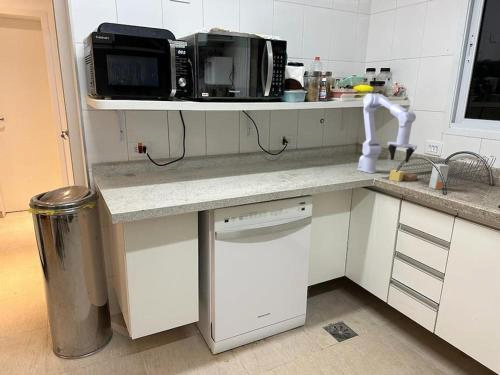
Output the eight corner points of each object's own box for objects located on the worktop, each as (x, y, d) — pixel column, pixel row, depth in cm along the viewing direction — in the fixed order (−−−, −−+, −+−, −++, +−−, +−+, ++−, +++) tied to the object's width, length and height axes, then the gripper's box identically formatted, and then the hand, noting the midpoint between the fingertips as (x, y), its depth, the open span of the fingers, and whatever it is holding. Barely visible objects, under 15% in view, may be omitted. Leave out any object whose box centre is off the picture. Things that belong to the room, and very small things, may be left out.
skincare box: (434, 189, 171) (439, 165, 167) (428, 187, 174) (433, 163, 171) (444, 189, 172) (450, 165, 169) (438, 186, 176) (443, 163, 173)
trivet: (393, 177, 190) (394, 173, 190) (400, 175, 197) (401, 171, 196) (410, 181, 184) (411, 176, 184) (416, 179, 190) (417, 174, 190)
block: (389, 179, 186) (390, 170, 184) (393, 178, 189) (394, 169, 188) (398, 181, 182) (400, 172, 181) (402, 180, 186) (404, 171, 184)
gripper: (386, 133, 182) (382, 159, 185) (414, 137, 172) (409, 164, 175) (392, 133, 186) (388, 158, 190) (420, 136, 176) (415, 162, 180)
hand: (399, 161), depth 183 cm, fingers open, 7 cm apart
